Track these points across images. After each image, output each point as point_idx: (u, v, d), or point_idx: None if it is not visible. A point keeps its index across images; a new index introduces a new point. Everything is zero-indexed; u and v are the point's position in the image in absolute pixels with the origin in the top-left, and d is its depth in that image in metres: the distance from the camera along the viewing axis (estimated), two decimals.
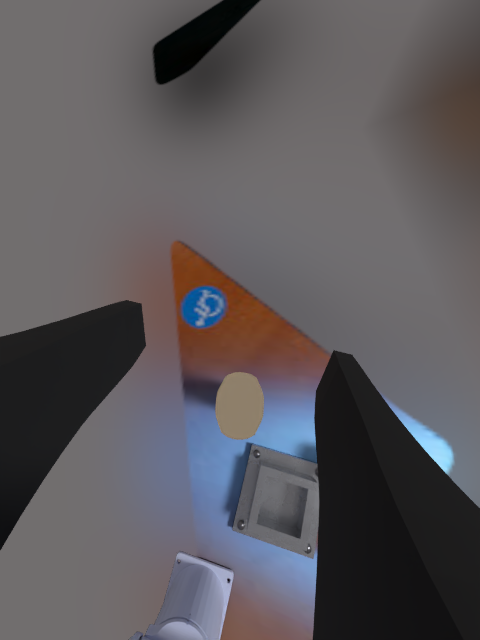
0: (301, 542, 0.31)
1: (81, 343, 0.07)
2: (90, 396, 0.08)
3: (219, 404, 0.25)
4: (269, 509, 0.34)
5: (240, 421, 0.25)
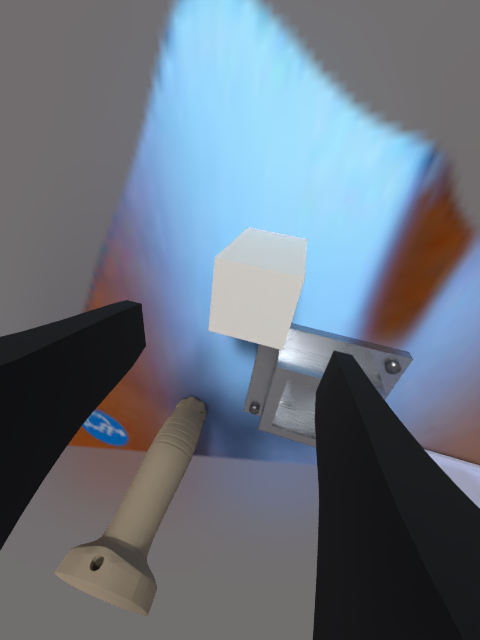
0: None
1: (81, 343, 0.07)
2: (90, 396, 0.08)
3: (112, 603, 0.17)
4: None
5: (121, 601, 0.15)
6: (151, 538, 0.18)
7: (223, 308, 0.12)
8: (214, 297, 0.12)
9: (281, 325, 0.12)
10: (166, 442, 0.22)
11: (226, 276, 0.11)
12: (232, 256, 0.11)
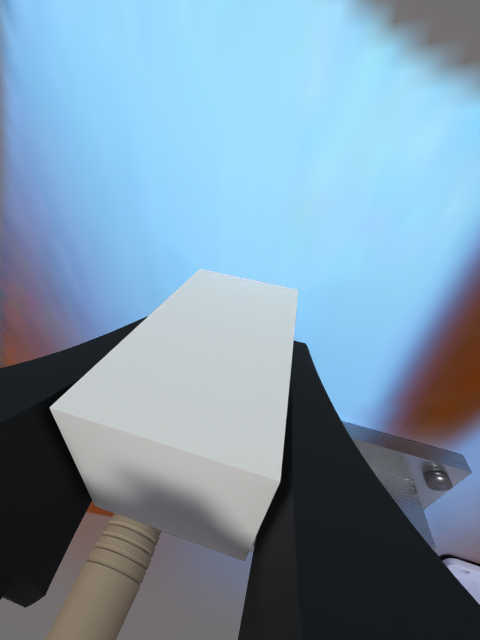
0: None
1: None
2: None
3: None
4: None
5: None
6: None
7: (108, 486, 0.05)
8: (82, 468, 0.05)
9: (233, 533, 0.05)
10: (104, 563, 0.16)
11: (91, 443, 0.05)
12: (106, 391, 0.05)
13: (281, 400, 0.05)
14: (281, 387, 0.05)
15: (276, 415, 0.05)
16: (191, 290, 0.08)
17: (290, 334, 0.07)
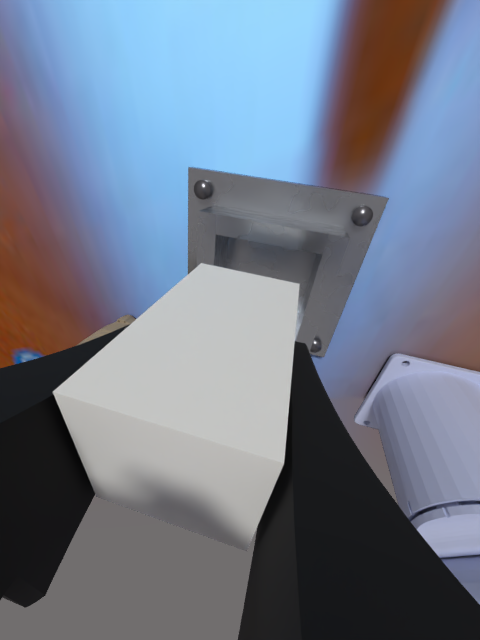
0: (330, 251, 0.12)
1: None
2: None
3: None
4: None
5: None
6: None
7: (110, 475, 0.05)
8: (85, 456, 0.05)
9: (235, 521, 0.05)
10: None
11: (94, 429, 0.05)
12: (109, 377, 0.05)
13: (284, 387, 0.05)
14: (284, 375, 0.05)
15: (279, 401, 0.05)
16: (193, 283, 0.08)
17: (292, 325, 0.07)
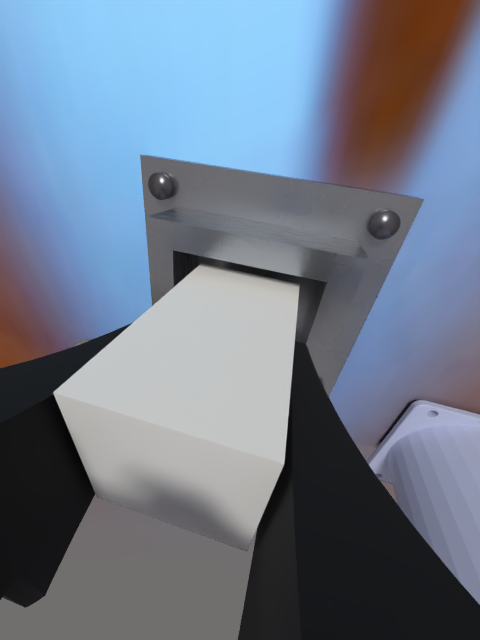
0: (338, 278, 0.08)
1: None
2: None
3: None
4: None
5: None
6: None
7: (110, 476, 0.05)
8: (85, 456, 0.05)
9: (236, 521, 0.05)
10: None
11: (94, 430, 0.05)
12: (109, 377, 0.05)
13: (284, 388, 0.05)
14: (284, 375, 0.05)
15: (279, 402, 0.05)
16: (193, 283, 0.08)
17: (292, 326, 0.07)
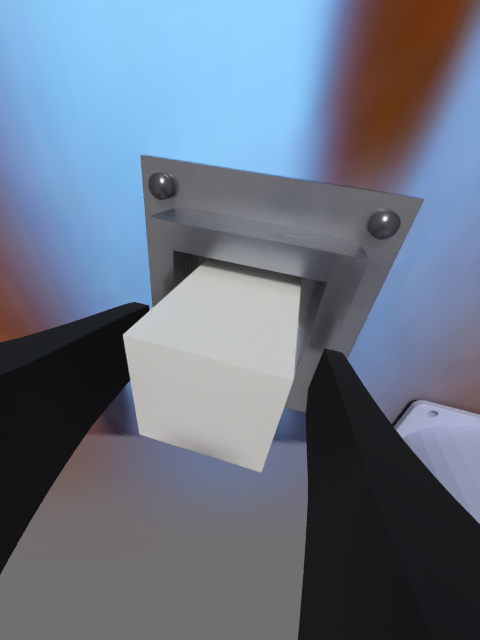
0: (338, 278, 0.08)
1: (91, 345, 0.07)
2: (99, 399, 0.08)
3: None
4: None
5: None
6: None
7: (155, 409, 0.07)
8: (137, 393, 0.07)
9: (254, 442, 0.07)
10: None
11: (150, 366, 0.06)
12: (160, 327, 0.06)
13: (291, 337, 0.07)
14: (291, 330, 0.07)
15: (288, 345, 0.06)
16: (212, 266, 0.10)
17: (296, 298, 0.08)
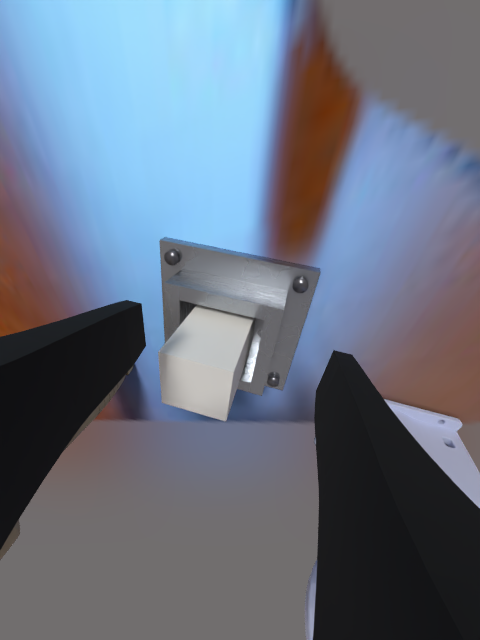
0: (270, 318, 0.15)
1: (81, 343, 0.07)
2: (90, 396, 0.08)
3: None
4: None
5: None
6: None
7: (171, 388, 0.14)
8: (162, 379, 0.14)
9: (220, 403, 0.14)
10: None
11: (170, 366, 0.13)
12: (175, 347, 0.13)
13: (238, 352, 0.13)
14: (239, 348, 0.14)
15: (235, 356, 0.13)
16: (202, 307, 0.17)
17: (248, 328, 0.15)
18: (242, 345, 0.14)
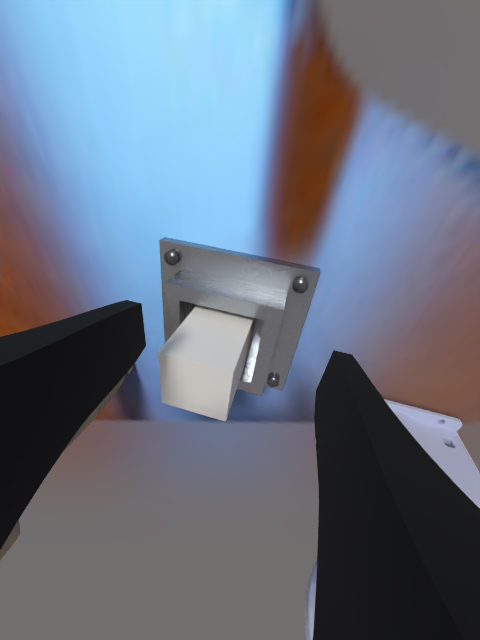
0: (269, 318, 0.15)
1: (81, 343, 0.07)
2: (90, 396, 0.08)
3: None
4: None
5: None
6: None
7: (171, 388, 0.14)
8: (162, 379, 0.14)
9: (220, 403, 0.14)
10: None
11: (170, 366, 0.13)
12: (174, 347, 0.13)
13: (238, 352, 0.13)
14: (239, 348, 0.14)
15: (235, 356, 0.13)
16: (202, 307, 0.17)
17: (248, 328, 0.15)
18: (242, 345, 0.14)
